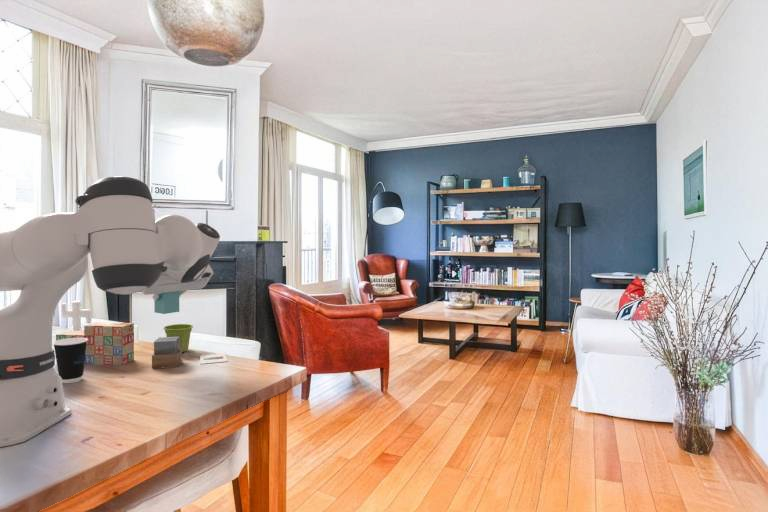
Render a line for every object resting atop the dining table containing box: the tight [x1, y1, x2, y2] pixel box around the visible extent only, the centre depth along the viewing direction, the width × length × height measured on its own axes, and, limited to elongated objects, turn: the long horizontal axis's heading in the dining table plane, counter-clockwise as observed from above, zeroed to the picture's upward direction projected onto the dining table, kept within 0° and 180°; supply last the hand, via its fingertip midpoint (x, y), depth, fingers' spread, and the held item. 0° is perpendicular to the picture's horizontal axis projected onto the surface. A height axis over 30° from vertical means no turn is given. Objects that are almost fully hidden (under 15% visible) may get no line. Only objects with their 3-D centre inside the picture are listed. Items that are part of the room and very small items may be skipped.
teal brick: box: [153, 291, 180, 315], centre depth 139 cm, size 5×5×8 cm
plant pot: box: [163, 323, 194, 353], centre depth 156 cm, size 9×9×9 cm
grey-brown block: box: [151, 336, 183, 369], centre depth 139 cm, size 7×7×8 cm
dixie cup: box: [52, 338, 88, 384], centre depth 124 cm, size 8×8×11 cm
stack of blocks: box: [55, 321, 135, 366], centre depth 142 cm, size 21×6×12 cm, turn 87°
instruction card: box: [199, 353, 228, 365], centre depth 147 cm, size 10×8×1 cm
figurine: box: [61, 299, 92, 333], centre depth 171 cm, size 7×9×15 cm
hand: (165, 297), depth 139 cm, fingers closed on teal brick, 5 cm apart
